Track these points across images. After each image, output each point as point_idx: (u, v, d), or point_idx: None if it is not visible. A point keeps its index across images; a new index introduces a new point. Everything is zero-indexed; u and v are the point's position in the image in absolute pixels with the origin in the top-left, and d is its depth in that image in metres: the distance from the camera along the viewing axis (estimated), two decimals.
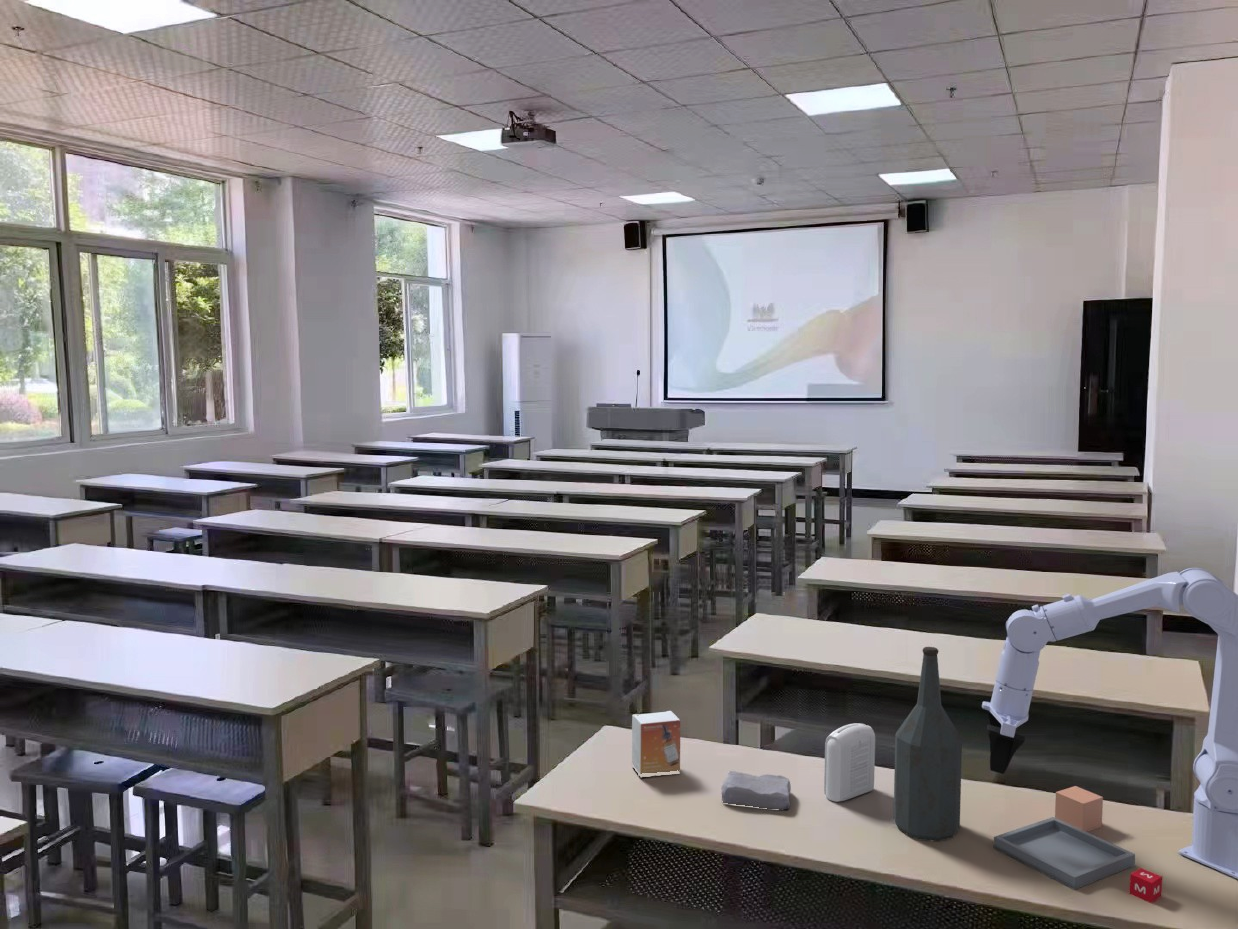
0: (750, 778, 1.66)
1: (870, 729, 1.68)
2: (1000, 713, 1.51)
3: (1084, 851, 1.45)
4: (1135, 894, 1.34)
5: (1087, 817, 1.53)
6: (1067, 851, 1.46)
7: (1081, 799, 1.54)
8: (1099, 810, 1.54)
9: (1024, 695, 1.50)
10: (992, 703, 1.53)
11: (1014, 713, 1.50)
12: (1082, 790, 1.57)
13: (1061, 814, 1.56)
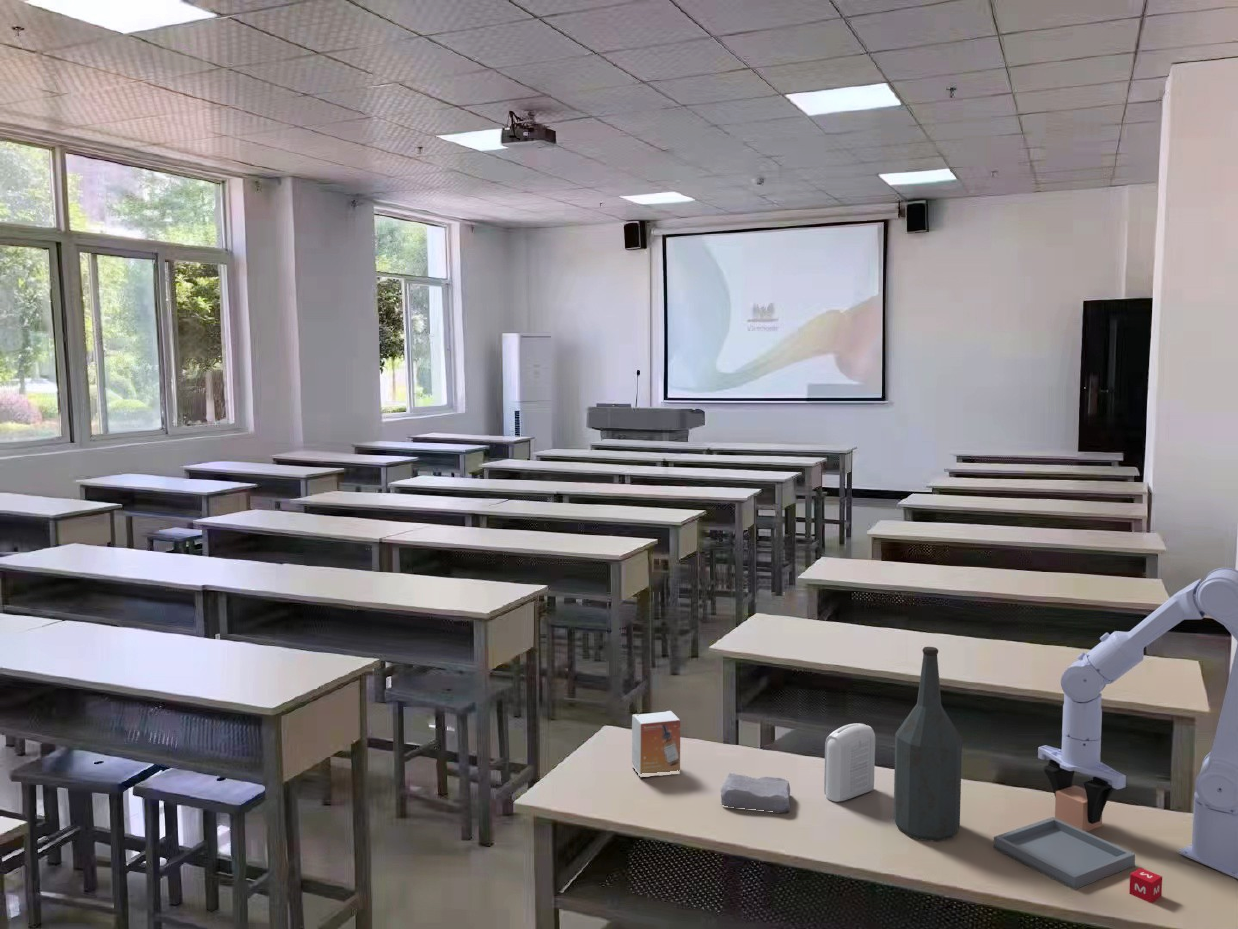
0: (749, 780, 1.65)
1: (870, 729, 1.68)
2: (1090, 768, 1.52)
3: (1084, 851, 1.45)
4: (1135, 894, 1.34)
5: (1087, 817, 1.53)
6: (1067, 851, 1.46)
7: (1081, 798, 1.54)
8: None
9: (1100, 742, 1.53)
10: (1076, 762, 1.53)
11: (1098, 762, 1.53)
12: (1082, 789, 1.57)
13: (1061, 813, 1.56)
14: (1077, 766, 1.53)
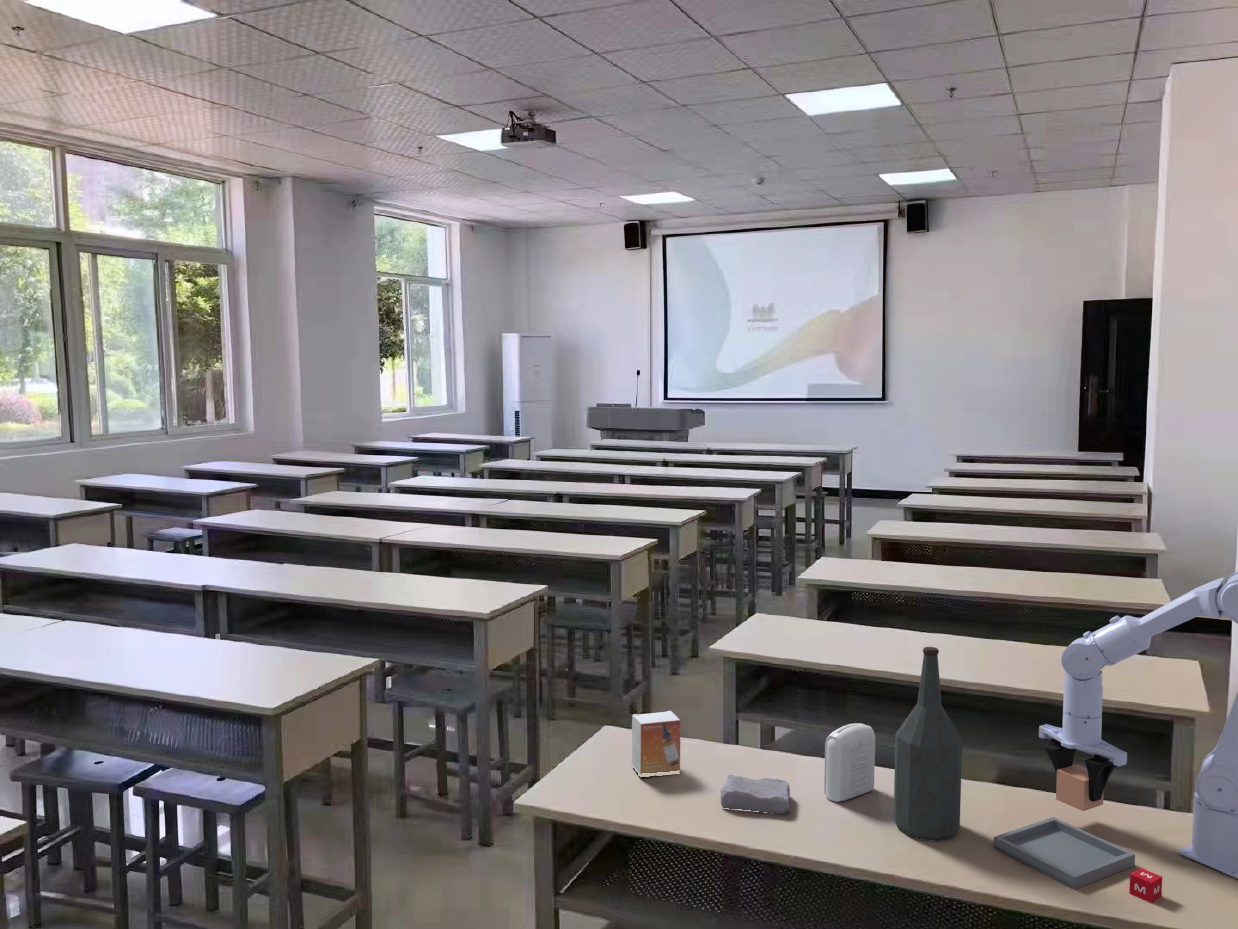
0: (749, 782, 1.64)
1: (870, 729, 1.68)
2: (1091, 746, 1.52)
3: (1084, 851, 1.45)
4: (1135, 894, 1.34)
5: (1088, 795, 1.52)
6: (1067, 851, 1.46)
7: (1082, 777, 1.53)
8: None
9: (1101, 719, 1.53)
10: (1077, 740, 1.52)
11: (1099, 740, 1.53)
12: (1083, 768, 1.57)
13: (1062, 792, 1.55)
14: (1078, 744, 1.52)
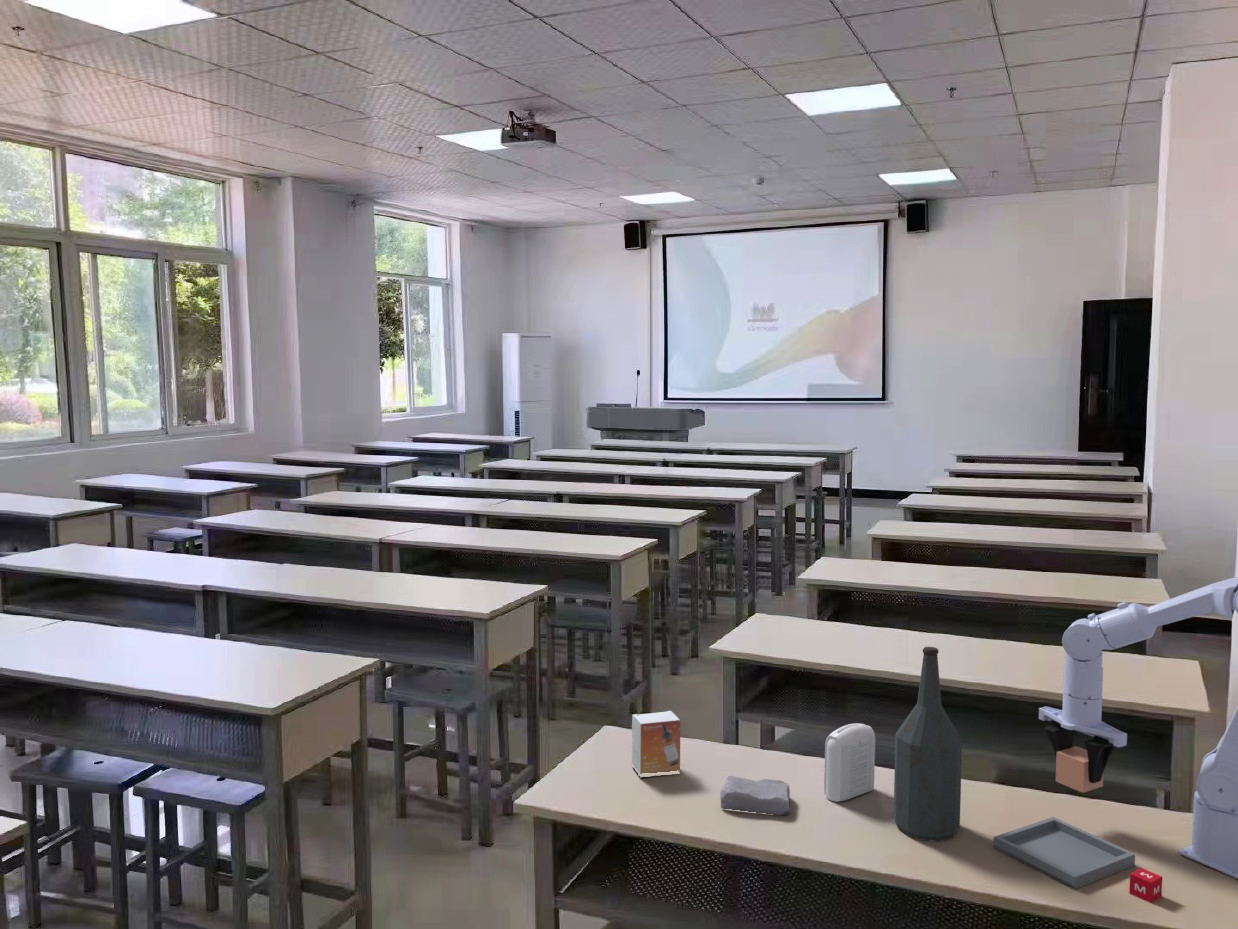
0: (749, 783, 1.64)
1: (870, 729, 1.68)
2: (1091, 727, 1.51)
3: (1084, 851, 1.45)
4: (1135, 894, 1.34)
5: (1088, 776, 1.52)
6: (1067, 851, 1.46)
7: (1082, 758, 1.53)
8: None
9: (1101, 701, 1.52)
10: (1077, 721, 1.52)
11: (1099, 721, 1.52)
12: (1083, 750, 1.56)
13: (1062, 774, 1.55)
14: (1078, 725, 1.51)
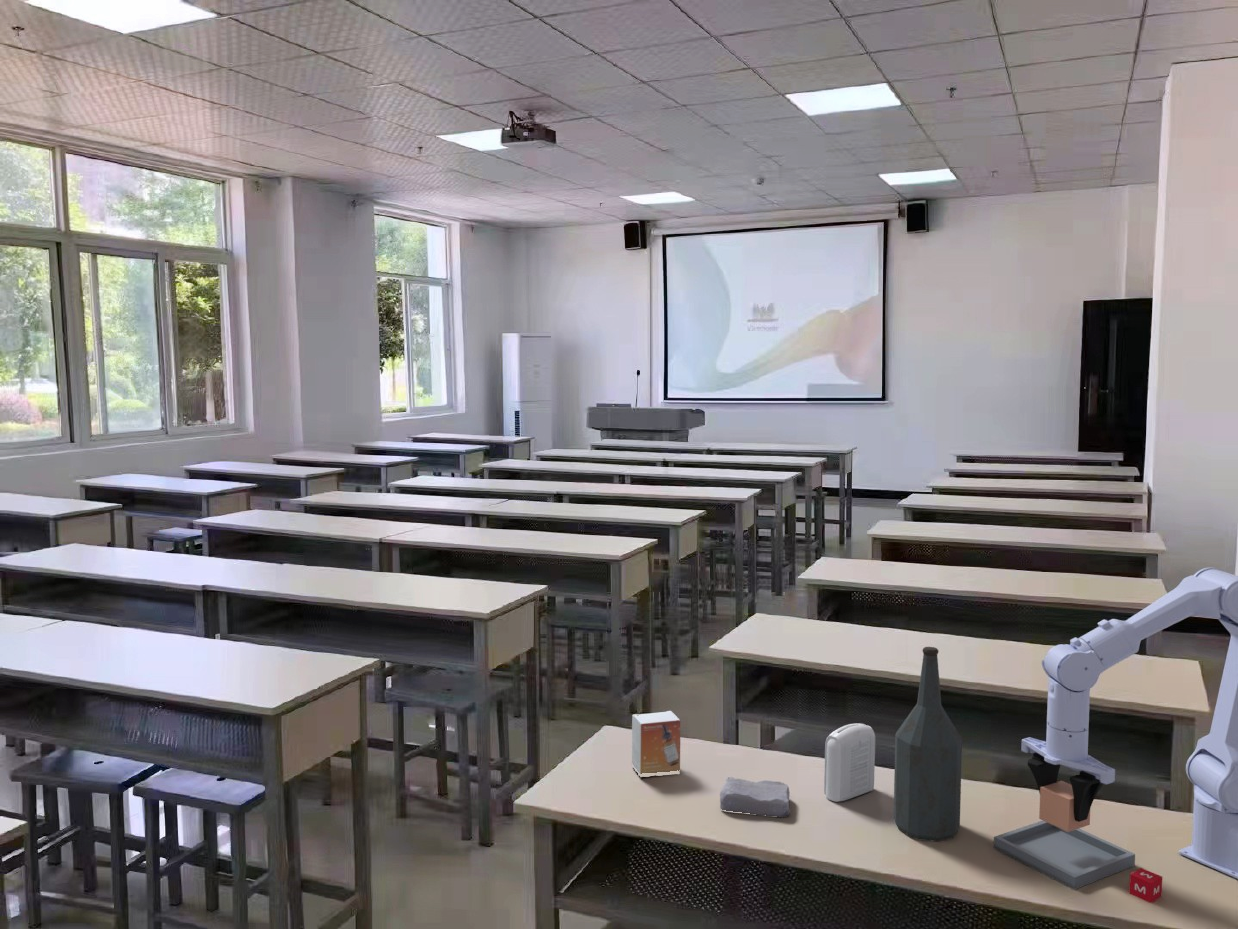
0: (749, 784, 1.63)
1: (870, 729, 1.68)
2: (1077, 762, 1.41)
3: (1084, 851, 1.45)
4: (1135, 894, 1.34)
5: None
6: (1067, 851, 1.46)
7: (1067, 795, 1.42)
8: None
9: None
10: (1061, 755, 1.41)
11: (1086, 755, 1.41)
12: (1069, 785, 1.46)
13: (1046, 811, 1.44)
14: (1063, 759, 1.41)
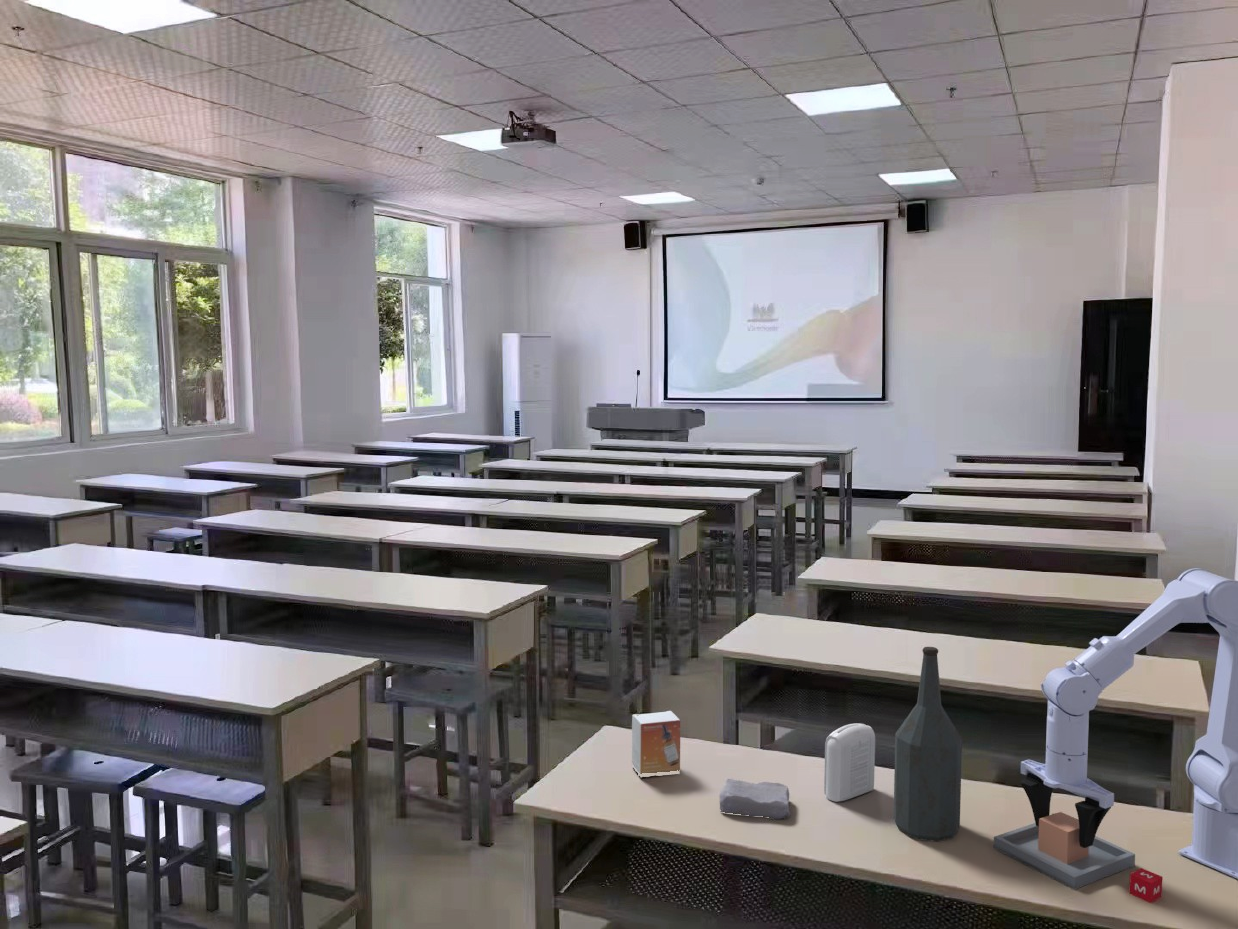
0: (748, 786, 1.62)
1: (870, 729, 1.68)
2: (1076, 785, 1.41)
3: None
4: (1135, 894, 1.34)
5: (1072, 846, 1.42)
6: None
7: (1066, 827, 1.43)
8: None
9: None
10: (1060, 778, 1.42)
11: (1085, 779, 1.42)
12: (1068, 816, 1.46)
13: (1045, 842, 1.45)
14: (1062, 783, 1.41)
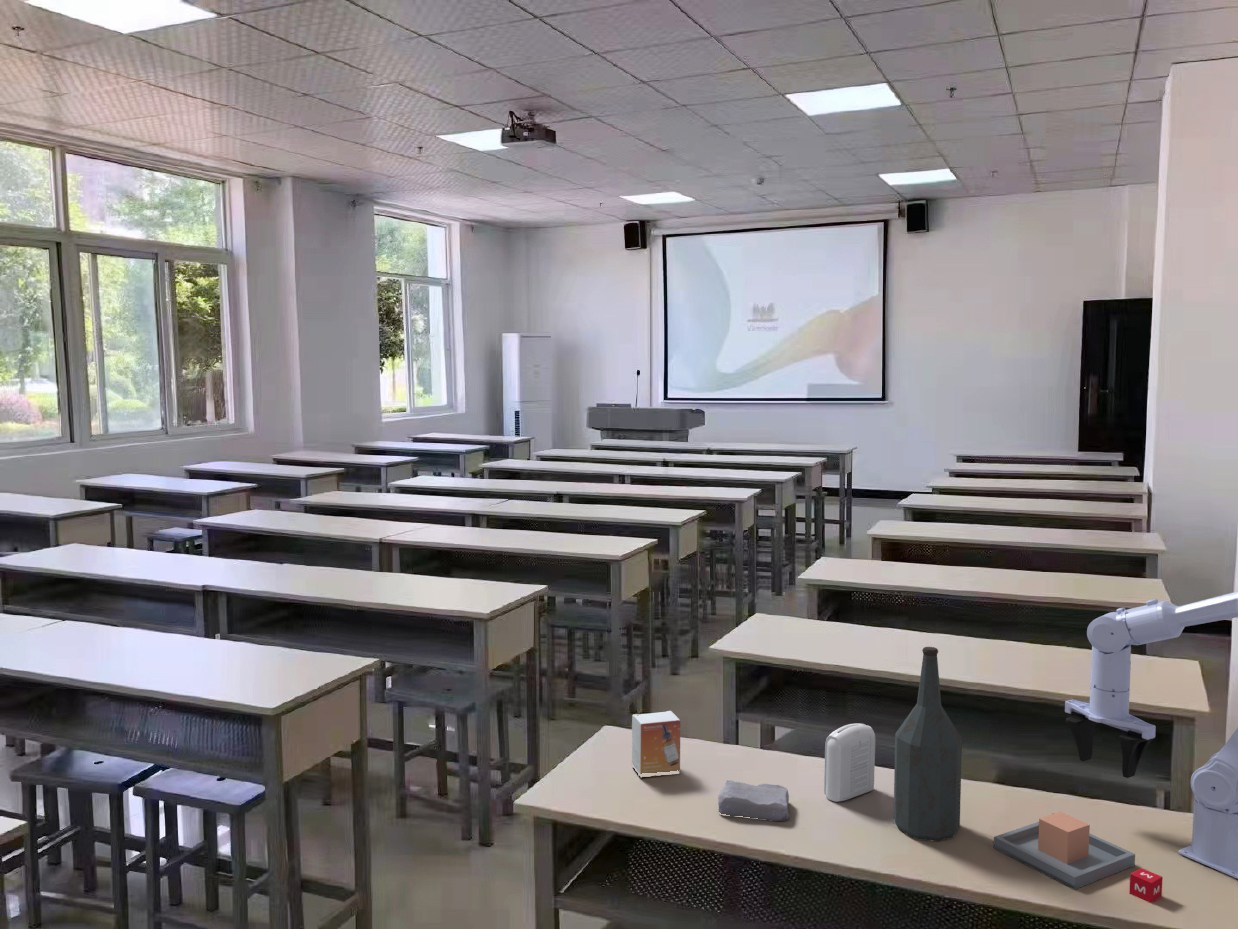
0: (747, 788, 1.62)
1: (870, 729, 1.68)
2: (1119, 720, 1.51)
3: None
4: (1135, 894, 1.34)
5: (1072, 846, 1.42)
6: None
7: (1066, 827, 1.43)
8: (1085, 839, 1.43)
9: (1129, 693, 1.53)
10: (1104, 714, 1.52)
11: (1127, 714, 1.52)
12: (1068, 816, 1.46)
13: (1045, 842, 1.45)
14: (1106, 718, 1.52)
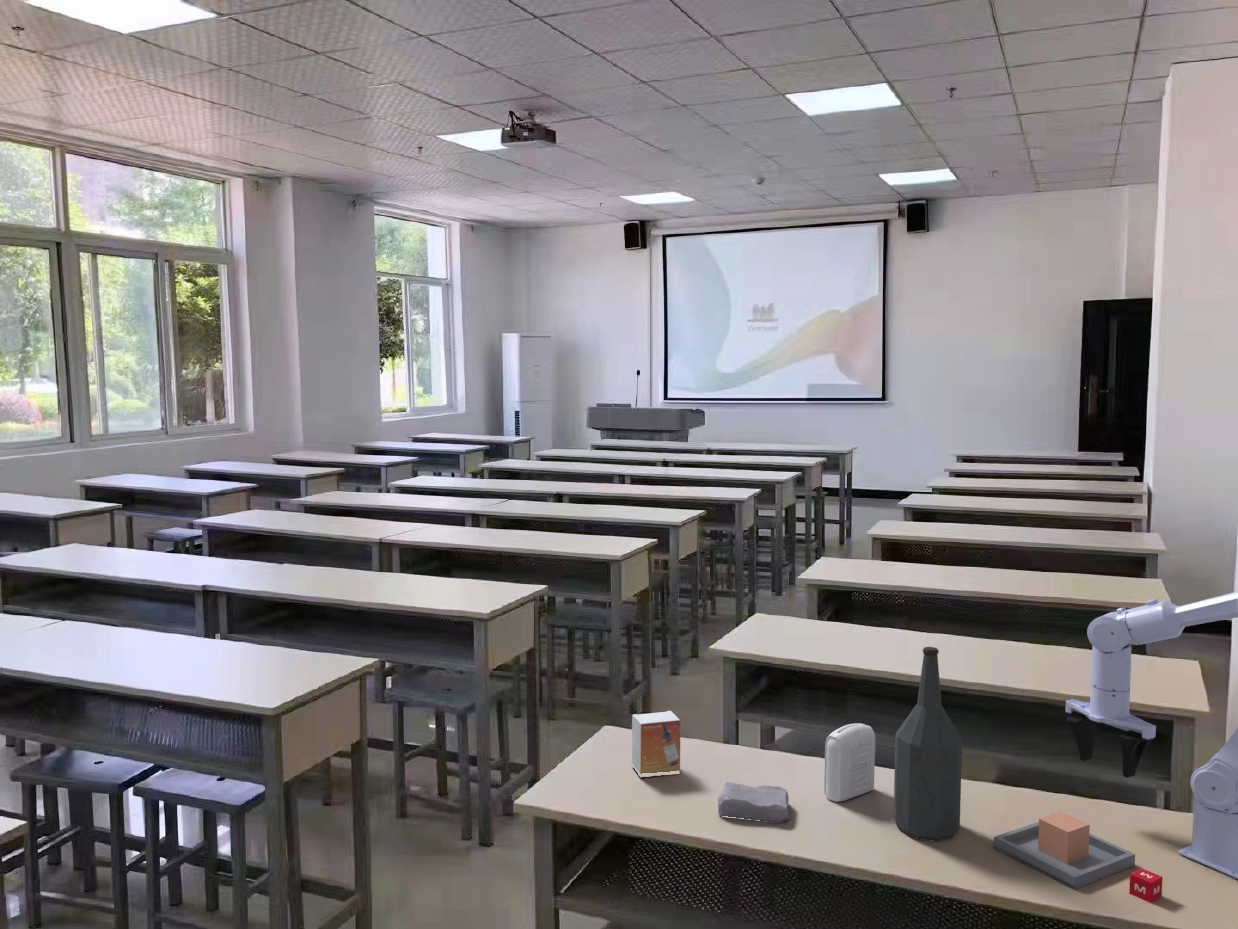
0: (747, 789, 1.61)
1: (870, 729, 1.68)
2: (1119, 719, 1.51)
3: None
4: (1135, 894, 1.34)
5: (1072, 846, 1.42)
6: None
7: (1066, 827, 1.43)
8: (1085, 839, 1.43)
9: (1129, 693, 1.53)
10: (1105, 713, 1.52)
11: (1127, 714, 1.52)
12: (1068, 816, 1.46)
13: (1045, 842, 1.45)
14: (1106, 717, 1.52)
